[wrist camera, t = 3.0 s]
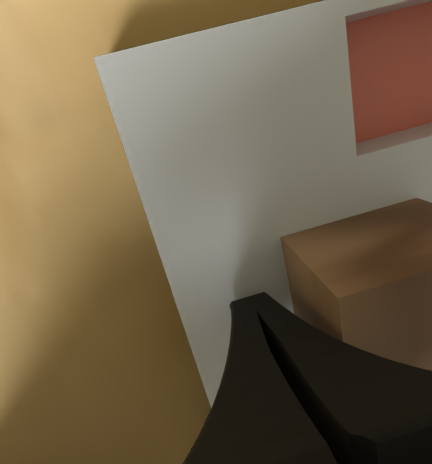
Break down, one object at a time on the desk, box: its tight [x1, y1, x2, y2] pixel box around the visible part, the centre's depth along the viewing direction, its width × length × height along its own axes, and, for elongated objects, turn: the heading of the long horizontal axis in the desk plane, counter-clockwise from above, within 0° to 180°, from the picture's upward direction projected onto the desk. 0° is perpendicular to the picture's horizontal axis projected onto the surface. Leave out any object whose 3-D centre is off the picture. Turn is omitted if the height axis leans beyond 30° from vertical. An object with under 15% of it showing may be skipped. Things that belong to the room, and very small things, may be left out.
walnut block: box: [280, 198, 432, 371], centre depth 11 cm, size 5×5×4 cm
